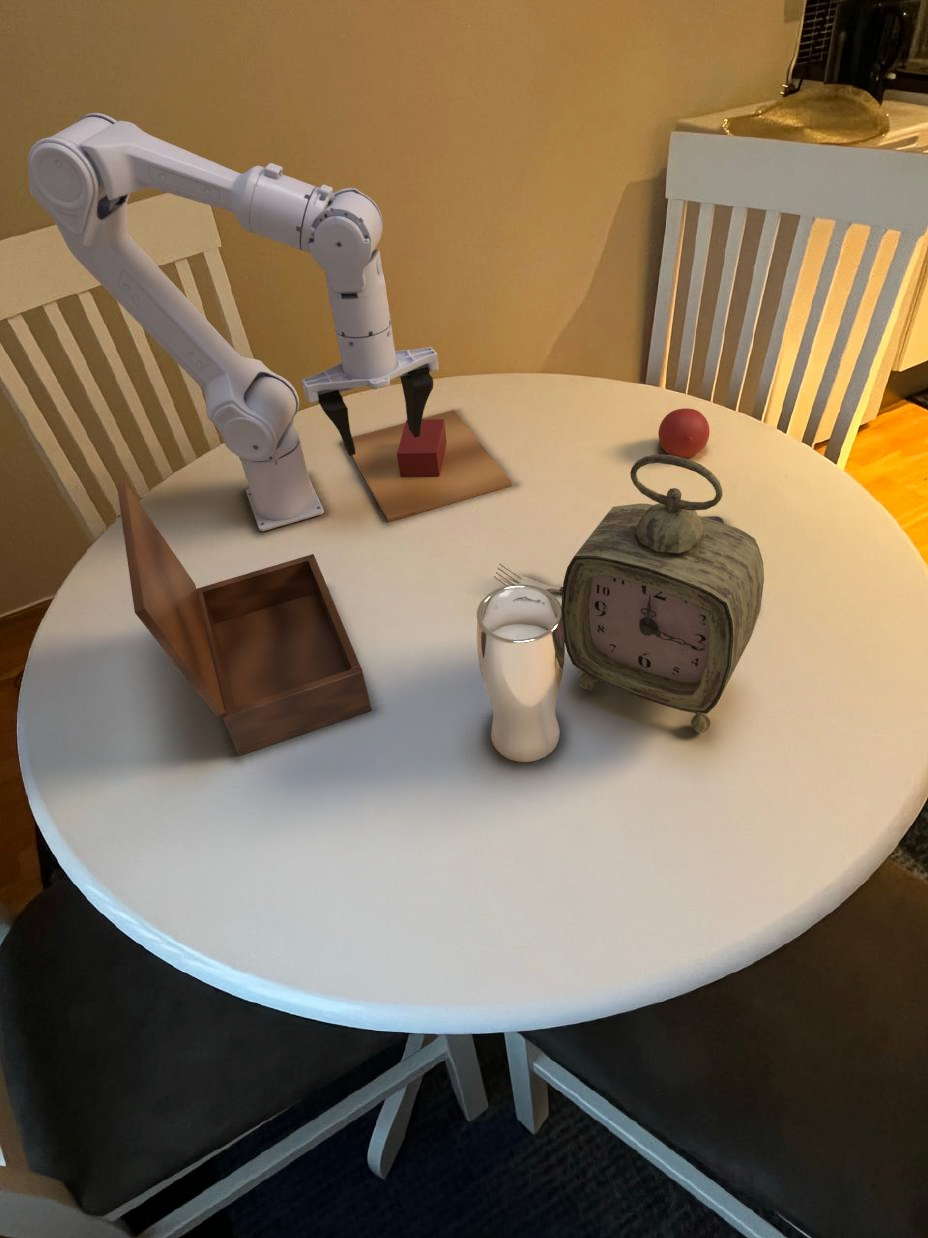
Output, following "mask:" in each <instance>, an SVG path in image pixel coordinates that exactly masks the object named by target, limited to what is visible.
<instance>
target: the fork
mask: <svg viewBox="0 0 928 1238" xmlns="http://www.w3.org/2000/svg"><path fill="white" fill-rule="evenodd" d="M498 565H499V566H501V567H502V568H504V569H505V570H506V571H505V570H504V569H502V568H500V567H497V570H499V571H500V572H501V573H503V574H505V575H506V576H507V577H506V576H505V575H503V574H501V573H499V572H498V571H495V574H497V576H499V577H500V578H503V579H504V580H505V581H503V580H502V579H500V578H498V577H497V576H495V575H493V578H494V579H495V580H497V581H499V582H500V583H502V584H503V585H505V586H510V585H518V584H524V585H532V586H537V587H540V588H542V589H545V590H547V591H556V592H560V593H563V586H552V585H549V584H545V583H542V582H539V581H537V580H535V579H532V578H529V577H526V576H524V575H521V574H519V573H518V572H516V571H514V570H513V569H510V568H509V567H507V566H506V565H504V564H502V563H499V564H498ZM507 571H508V572H510V573H511V574H510V573H508V572H507ZM512 574H513V575H512ZM515 576H516V577H515ZM509 578H511V579H512V580H511V579H509ZM513 580H514V581H513ZM506 581H507V582H509V583H510V584H509V583H507V582H506Z"/></svg>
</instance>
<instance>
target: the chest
mask: <svg viewBox="0 0 928 1238" xmlns="http://www.w3.org/2000/svg"><path fill="white" fill-rule="evenodd" d="M196 590H197V594H198V598H199V603H200V607H201V611H202V616H203V620H204V624H205V628H206V633H207V637H208V641H209V646H210V650H211V654H212V659H213V663H214V667H215V672H216V676H217V680H218V685H219V689H220V693H221V698H222V702H223V706H224V711H225V713H224V714H221V718H222V720H223V723H224V725H225V727H226V730H227V732H228V735H229V736H230V739H231V741H232V744H233V746H234V748H235V750H236V752H237V755H238V757H240V756H243V755H246V754H248V753H252V752H255V751H257V750H260V749H263V748H266V747H270V746H272V745H275V744H278V743H280V742H283V741H287V740H289V739H292V738H295V737H298V736H300V735H304V734H307V733H310V732H313V731H315V730H319V729H321V728H324V727H327V726H329V725H330V726H331V725H332V724H336V723H339V722H341V721H345V720H348V719H350V718H353V717H356V716H359V715H362V714H365V713H367V712H370V711H372V710H373V708H372V704H371V700H370V696H369V692H368V688H367V684H366V680H365V675H364V671H363V669H362V667H361V664H360V662H359V659H358V657H357V655H356V653H355V650H354V647H353V645H352V643H351V640H350V638H349V635H348V632H347V631H346V628H345V626H344V623H343V621H342V619H341V616H340V614H339V611H338V609H337V607H336V604H335V602H334V599H333V597H332V595H331V594H332V593H331V592H330V590H329V587H328V585H327V583H326V580H325V578H324V575H323V573H322V570H321V569H320V566H319V563H318V561H317V558H316V556H315V554H314V553H311V554H309V555H305V556H301V557H298V558H295V559H292V560H288V561H284V562H281V563H278V564H274V565H271V566H268V567H265V568H262V569H258V570H254V571H251V572H248V573H245V574H241V575H237V576H234V577H231V578H227V579H224V580H221V581H217V582H213V583H211V584H207V585H204V586H201V587H196Z"/></svg>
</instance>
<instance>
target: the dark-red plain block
mask: <svg viewBox="0 0 928 1238" xmlns="http://www.w3.org/2000/svg"><path fill="white" fill-rule="evenodd" d="M404 423H405V426H404V430H403V433H402V437H401V440H400V444H399V447H398V451H397V458H398V465H399V471H400V477H439V476H440V472H441V467H442V462H443V457H444V453H445V448H446V443H447V441H446V431H445V422H444V419H426V420H422V422H421V430H420V436H419V437H416V438H415V437H414V436H413V435H412V433H411V432H410V430H409V427H408V422H407V419H406V420H405V422H404Z"/></svg>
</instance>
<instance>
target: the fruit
mask: <svg viewBox="0 0 928 1238" xmlns="http://www.w3.org/2000/svg"><path fill="white" fill-rule="evenodd" d="M657 433H658V442H659V444H660V446H661V448H662V449H663V450H664V452H665V453H666V455H672V456H677V457H681V458H685V459H691V458H693V457H695V456H697V455H698V454H699V453H701V452H702V451H703V450H704V448H705V447H706V445H707V443H708V441H709V438H710V425H709V422H708V420H707V418H706V416H705V415H704V414H703V413H702V412H700V411H699V410H696V409H693V408H678V409H677V408H676V409H675V410H672V411H670V412H669V413H667V414H666V415H665V416H664V417H663V419H662V420H661V422H660V424H659V427H658V432H657Z"/></svg>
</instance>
